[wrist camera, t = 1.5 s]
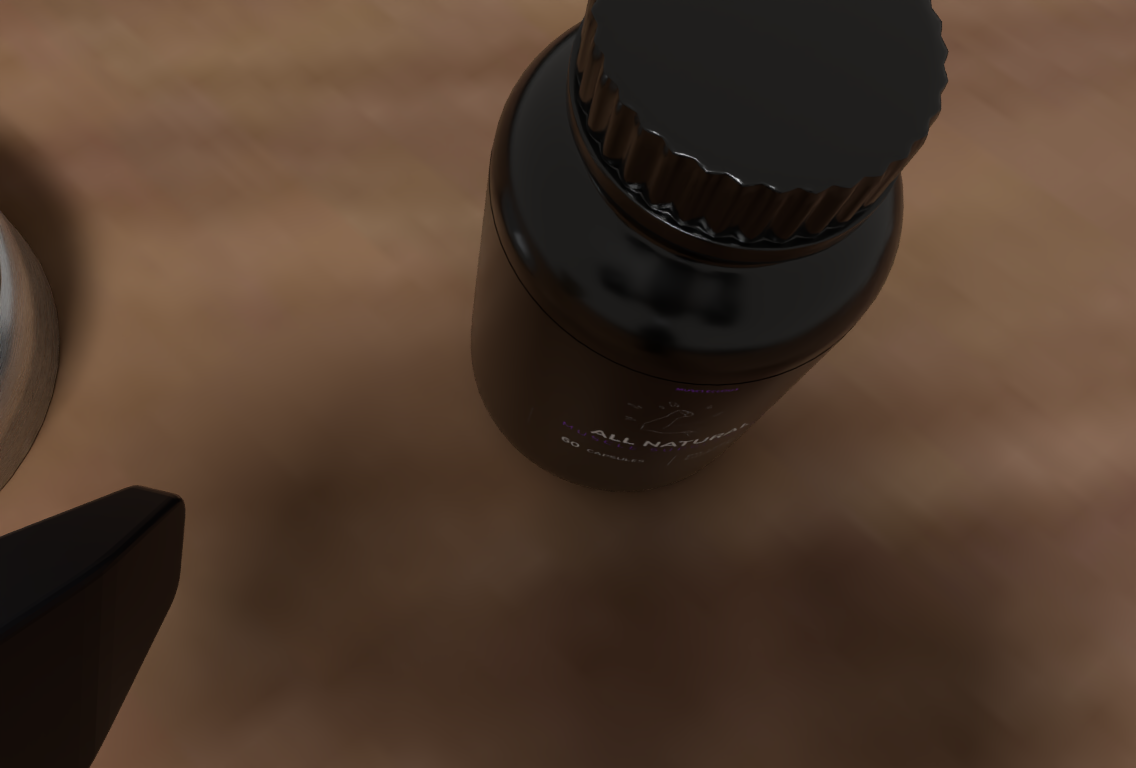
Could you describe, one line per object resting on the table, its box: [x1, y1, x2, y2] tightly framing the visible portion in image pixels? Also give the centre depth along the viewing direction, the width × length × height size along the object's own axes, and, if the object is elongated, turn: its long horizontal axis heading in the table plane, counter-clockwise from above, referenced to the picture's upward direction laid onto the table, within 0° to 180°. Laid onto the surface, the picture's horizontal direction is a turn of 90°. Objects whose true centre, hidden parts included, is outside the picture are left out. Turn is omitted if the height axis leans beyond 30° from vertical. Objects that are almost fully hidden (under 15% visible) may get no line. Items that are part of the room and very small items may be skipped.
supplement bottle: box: [471, 0, 948, 492], centre depth 19 cm, size 7×7×12 cm
